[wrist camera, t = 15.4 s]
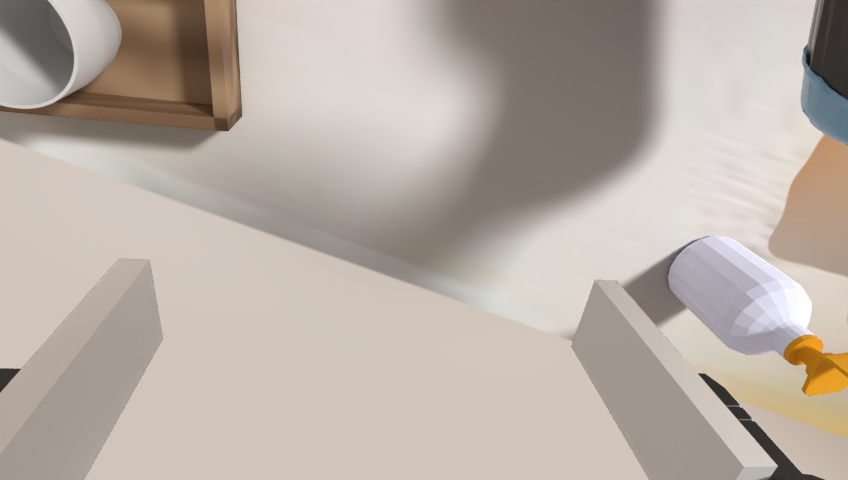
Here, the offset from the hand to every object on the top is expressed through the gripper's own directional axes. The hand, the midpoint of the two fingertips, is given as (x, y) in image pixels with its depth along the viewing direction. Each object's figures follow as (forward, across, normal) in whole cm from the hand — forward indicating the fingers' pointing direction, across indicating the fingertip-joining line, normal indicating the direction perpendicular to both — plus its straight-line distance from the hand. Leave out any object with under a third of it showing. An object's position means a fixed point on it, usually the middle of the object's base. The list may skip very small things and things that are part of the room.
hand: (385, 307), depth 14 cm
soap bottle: (+32, +41, -16) cm, 54 cm away
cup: (+31, -22, +3) cm, 38 cm away
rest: (+32, -19, +3) cm, 37 cm away
